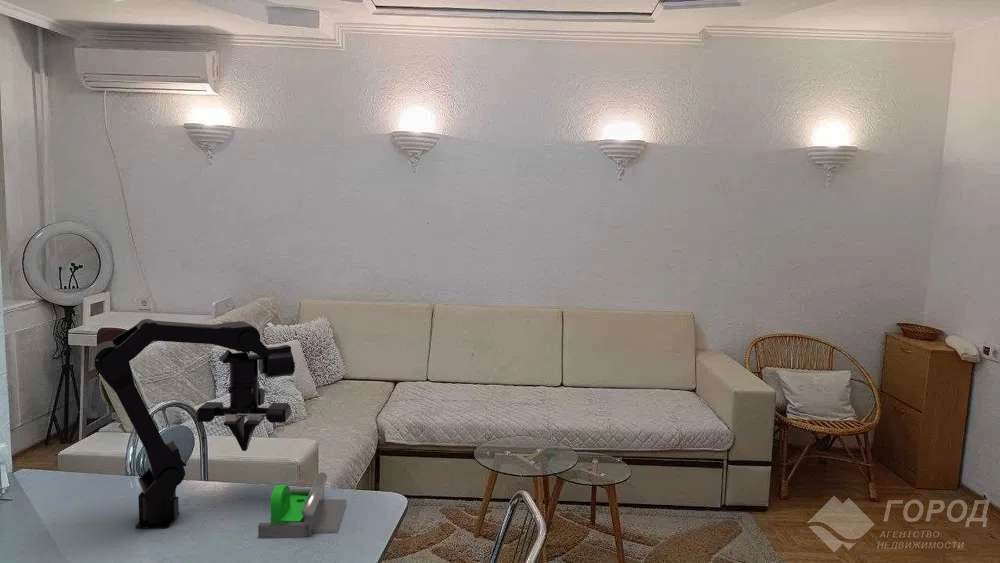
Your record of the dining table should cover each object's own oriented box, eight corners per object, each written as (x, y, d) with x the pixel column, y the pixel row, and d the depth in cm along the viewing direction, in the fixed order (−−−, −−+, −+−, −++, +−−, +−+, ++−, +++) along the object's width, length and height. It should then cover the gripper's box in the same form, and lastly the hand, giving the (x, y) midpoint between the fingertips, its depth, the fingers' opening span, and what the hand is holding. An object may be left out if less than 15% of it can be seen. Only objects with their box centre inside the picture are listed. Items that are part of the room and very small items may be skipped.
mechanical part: (299, 530, 142) (299, 493, 141) (270, 529, 142) (270, 491, 141) (318, 505, 154) (318, 470, 153) (291, 503, 154) (291, 469, 153)
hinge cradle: (258, 537, 138) (257, 506, 137) (277, 500, 155) (277, 472, 154) (336, 536, 140) (336, 506, 139) (347, 499, 156) (347, 472, 156)
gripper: (296, 372, 159) (296, 438, 161) (212, 370, 158) (213, 437, 159) (284, 385, 148) (284, 455, 150) (194, 383, 146) (195, 455, 148)
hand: (244, 450), depth 152 cm, fingers closed
